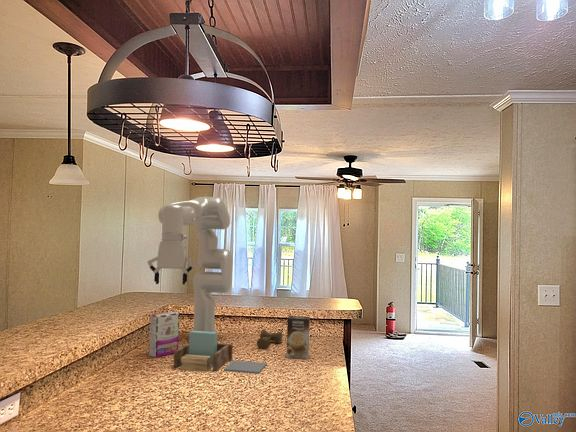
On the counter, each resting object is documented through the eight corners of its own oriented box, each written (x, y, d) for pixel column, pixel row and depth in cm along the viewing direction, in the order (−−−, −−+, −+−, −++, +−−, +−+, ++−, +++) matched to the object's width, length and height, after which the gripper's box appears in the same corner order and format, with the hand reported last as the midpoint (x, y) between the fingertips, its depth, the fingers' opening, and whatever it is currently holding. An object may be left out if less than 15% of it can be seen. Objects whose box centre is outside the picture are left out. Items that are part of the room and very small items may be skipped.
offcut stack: (185, 366, 170) (185, 354, 170) (211, 368, 168) (211, 356, 168) (180, 370, 165) (180, 357, 165) (206, 372, 163) (207, 359, 163)
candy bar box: (170, 351, 191) (172, 311, 192) (178, 353, 188) (180, 312, 189) (148, 356, 182) (149, 314, 183) (155, 358, 179) (157, 316, 180)
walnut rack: (188, 356, 183) (189, 341, 183) (232, 359, 180) (232, 344, 180) (171, 367, 167) (171, 351, 167) (218, 371, 163) (218, 354, 164)
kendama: (251, 349, 200) (265, 339, 219) (272, 352, 197) (284, 341, 216) (251, 336, 200) (265, 326, 219) (272, 338, 197) (285, 328, 216)
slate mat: (233, 362, 177) (233, 360, 177) (266, 364, 174) (266, 363, 174) (223, 370, 165) (224, 369, 165) (259, 373, 162) (259, 371, 163)
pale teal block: (191, 362, 175) (192, 330, 176) (216, 364, 173) (217, 332, 174) (188, 364, 172) (189, 332, 173) (213, 366, 170) (214, 333, 171)
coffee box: (285, 358, 185) (286, 318, 185) (287, 354, 191) (288, 315, 192) (308, 359, 184) (309, 319, 184) (309, 355, 190) (310, 316, 191)
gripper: (196, 238, 176) (194, 283, 175) (150, 237, 174) (148, 282, 173) (195, 238, 169) (193, 285, 168) (147, 237, 166) (144, 284, 166)
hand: (170, 284), depth 170 cm, fingers open, 9 cm apart
